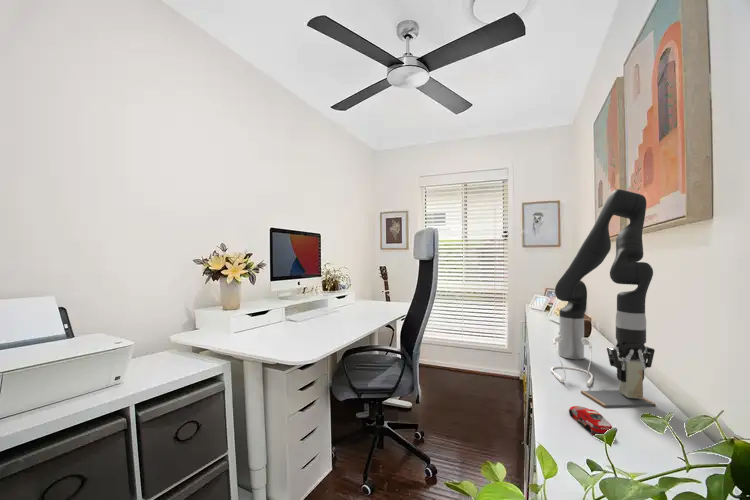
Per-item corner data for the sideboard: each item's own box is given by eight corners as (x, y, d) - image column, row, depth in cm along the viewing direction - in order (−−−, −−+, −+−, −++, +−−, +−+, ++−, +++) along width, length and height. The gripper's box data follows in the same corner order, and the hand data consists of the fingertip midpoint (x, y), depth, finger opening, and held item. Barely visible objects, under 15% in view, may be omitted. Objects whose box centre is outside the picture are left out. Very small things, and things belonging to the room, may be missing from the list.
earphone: (553, 374, 114) (551, 331, 126) (551, 398, 123) (549, 356, 136) (600, 380, 108) (593, 335, 120) (594, 406, 118) (588, 361, 130)
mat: (580, 392, 108) (580, 390, 108) (628, 391, 109) (628, 389, 109) (603, 407, 98) (603, 405, 98) (655, 406, 99) (655, 403, 99)
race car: (565, 413, 95) (565, 399, 95) (585, 413, 95) (585, 399, 95) (594, 438, 82) (594, 422, 82) (616, 439, 82) (616, 423, 82)
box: (643, 399, 100) (643, 362, 100) (627, 398, 101) (627, 361, 101) (633, 392, 106) (633, 357, 106) (618, 390, 106) (618, 356, 106)
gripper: (642, 323, 108) (642, 375, 108) (599, 323, 107) (599, 376, 107) (663, 328, 100) (663, 385, 100) (618, 329, 99) (617, 386, 99)
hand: (630, 380), depth 103 cm, fingers closed on box, 5 cm apart
